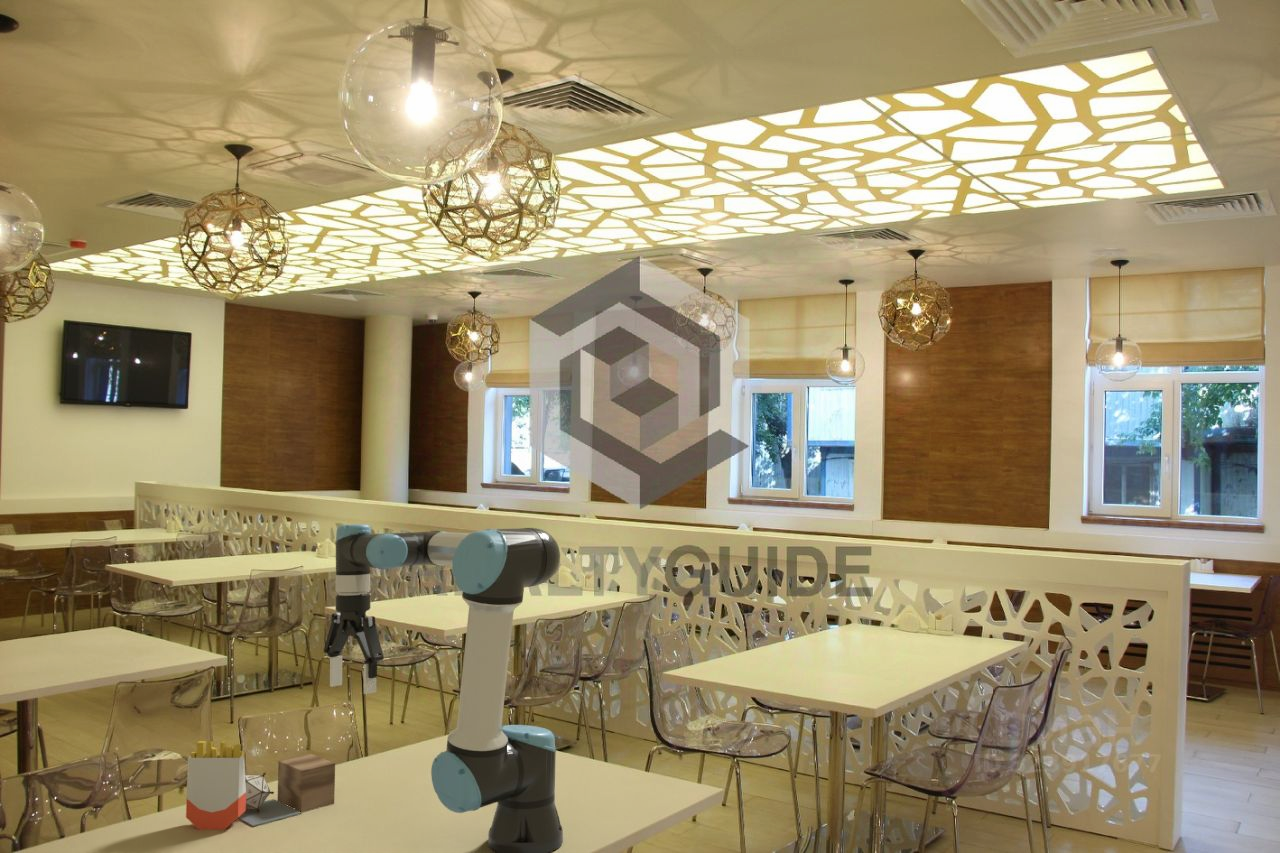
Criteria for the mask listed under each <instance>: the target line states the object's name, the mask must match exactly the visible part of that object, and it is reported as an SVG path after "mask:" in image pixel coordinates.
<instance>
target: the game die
mask: <svg viewBox="0 0 1280 853" xmlns="http://www.w3.org/2000/svg"><path fill="white" fill-rule="evenodd" d="M266 774H267V772H266V771H265V772H263V774H245V782H246V809H257V812H258V813H259V807H260V806H261V805H262V803H263V802H264V801H267V798H268V797H269V796H270V794H271V795H274V794H275V792H274V791H271V790H270V787H269V785H268V783H267V780H266V777H265V776H266Z"/></svg>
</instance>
